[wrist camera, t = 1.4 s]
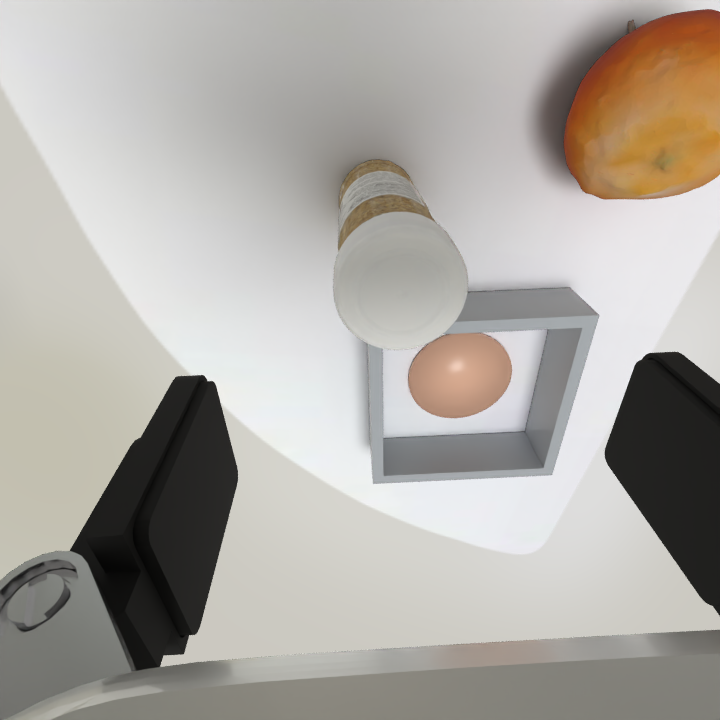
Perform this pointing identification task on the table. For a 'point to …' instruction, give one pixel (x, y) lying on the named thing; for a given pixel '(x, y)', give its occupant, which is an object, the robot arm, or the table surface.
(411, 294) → the sprinkles bottle
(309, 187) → the table surface
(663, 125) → the fruit
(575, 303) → the grey square tray
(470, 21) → the table surface
